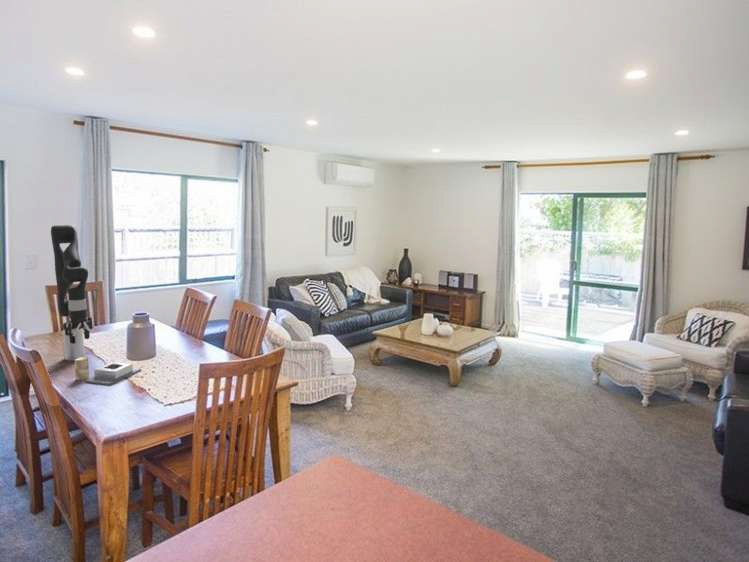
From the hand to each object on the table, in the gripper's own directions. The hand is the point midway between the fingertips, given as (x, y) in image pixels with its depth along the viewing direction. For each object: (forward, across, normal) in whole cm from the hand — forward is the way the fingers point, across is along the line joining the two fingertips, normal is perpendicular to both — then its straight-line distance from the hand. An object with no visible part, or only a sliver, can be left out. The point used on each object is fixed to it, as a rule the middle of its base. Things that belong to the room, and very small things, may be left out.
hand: (80, 341), depth 241 cm
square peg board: (+19, -7, +12) cm, 24 cm away
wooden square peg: (+19, 0, 0) cm, 19 cm away
